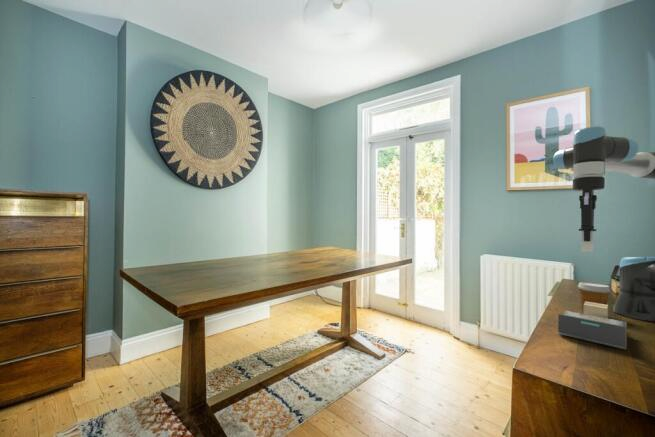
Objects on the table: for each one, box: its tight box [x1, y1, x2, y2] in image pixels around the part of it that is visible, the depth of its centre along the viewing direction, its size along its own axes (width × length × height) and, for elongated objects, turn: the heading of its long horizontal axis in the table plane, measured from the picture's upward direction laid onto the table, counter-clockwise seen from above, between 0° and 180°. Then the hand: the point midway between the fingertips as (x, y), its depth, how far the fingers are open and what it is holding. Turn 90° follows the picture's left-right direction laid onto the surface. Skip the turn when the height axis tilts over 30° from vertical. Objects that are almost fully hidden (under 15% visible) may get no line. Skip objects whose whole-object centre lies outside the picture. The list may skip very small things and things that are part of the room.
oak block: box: [584, 301, 609, 319], centre depth 102 cm, size 6×6×7 cm
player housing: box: [558, 310, 627, 350], centre depth 92 cm, size 15×15×4 cm
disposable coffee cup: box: [577, 281, 612, 314], centre depth 113 cm, size 10×10×12 cm
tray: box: [557, 313, 627, 349], centre depth 91 cm, size 14×15×6 cm
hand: (587, 251), depth 92 cm, fingers closed
